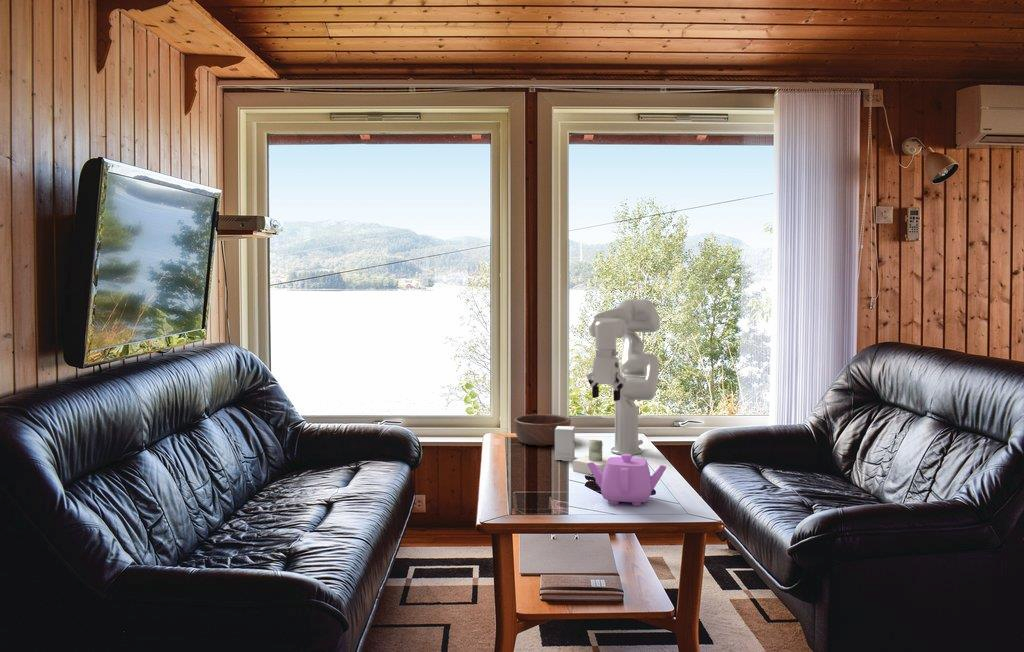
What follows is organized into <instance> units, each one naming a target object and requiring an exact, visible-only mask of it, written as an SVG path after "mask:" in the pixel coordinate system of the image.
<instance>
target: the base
mask: <svg viewBox="0 0 1024 652" xmlns="http://www.w3.org/2000/svg"><path fill="white" fill-rule="evenodd" d="M609 458H610V457H606V456H602V461H590V460H589V455H586V456H583V457H579V458H575V459H573V461H572V471H573V472H576V473H582V474H587V475H591V474H592V472H591V470H590V468H589V467H588V465H587V464H588V463H590V462H594V464H595V465H596V466H597V467H598V469H599V470H600V471H601V472H602V473H603V472H604V468H605V465H606V462H607V460H608V459H609Z"/></svg>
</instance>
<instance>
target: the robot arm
mask: <svg viewBox="0 0 1024 652" xmlns="http://www.w3.org/2000/svg"><path fill="white" fill-rule="evenodd" d="M660 325H661V321H660V316H659V313H658V311H657V308H656V306H655V305H654V304H653V302H652V301H651V300H650V299H649V300H648V299H642V298H641V299H630V298H629V299H624V300H622V301H621V302H620V303H619V304H618V305H617V306H616V307H615V308H611V309H609V310H605V311H602V312H600V313H597V314H595V315H594V316H593V317H592V319H590V322H589V325H588V331H589V334H590V336H591V337H593V338H594V339H595V356H594V358H593V363H592V364H593V365H592V372H590V373H587V374H586V379H587V381H588V383H589V384H590V387H591V395H592V399H597V398H599V397H600V395H599V394H600V388H599V386H598V385H599V384H601V385H607V386H608V385H609V386H612V391H613V401H614V447H611V449H610V452H611V453H613V454H616V455H622V454H631V455H632V456H635V455H640V454H642V453H643V449H642V448H640V447H639V446H640V445H643V444H644V440H643V439H639V408H638V406H637V405H636V403H635V400H637V401H638V400H639V401H650V400H653V399H655V396H656V391H657V386H658V379H659V371H660V359H659V358H658V356H657V355H656V354H655V353H645V352H644V349H645V348H644V347H645V344H644V342H643V341H642V339H641V337H639V335H638V334H637V333H655V332H657V331H658V330H659V329H660ZM617 339H622V341H623V347H622V348H623V349H622V354H621V359H620V361H619V357H617V356H618V355H619V351H617V343H616V342H617ZM621 373H622V374H621Z"/></svg>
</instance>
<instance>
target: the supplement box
mask: <svg viewBox="0 0 1024 652" xmlns="http://www.w3.org/2000/svg"><path fill="white" fill-rule="evenodd" d="M575 428H576V427H575V426H574V425H573V426H571V425H570V426H557V427H556V429H555V445H554V461H557V460H562V461H563V462H573V460H574V458H575V449H576V448H575V445H576V444H575V440H576V439H575V438H576V437H575V435H576V434H575V433H576V432H575V431H576V430H575Z"/></svg>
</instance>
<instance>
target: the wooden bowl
mask: <svg viewBox="0 0 1024 652" xmlns="http://www.w3.org/2000/svg"><path fill="white" fill-rule="evenodd" d="M513 421H514V422H513V424H514V431H515V435H516V438H517V439H518V441H519V442H520V443H521V444H523V443H524V444H523V445H526V444H528V445H527V446H531V445H536V446H535V447H547V446H546V445H554V446H555V429H556V427H557V426H571V422H572V420H571V419H570V418H569V417H567V416H566V415H565V416H564V415H559V414H548V413H544V414H543V413H539V414H537V413H536V414H526V415H525V414H524V415H520V416H516V417H515V418H514V419H513ZM537 445H538V446H537Z"/></svg>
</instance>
